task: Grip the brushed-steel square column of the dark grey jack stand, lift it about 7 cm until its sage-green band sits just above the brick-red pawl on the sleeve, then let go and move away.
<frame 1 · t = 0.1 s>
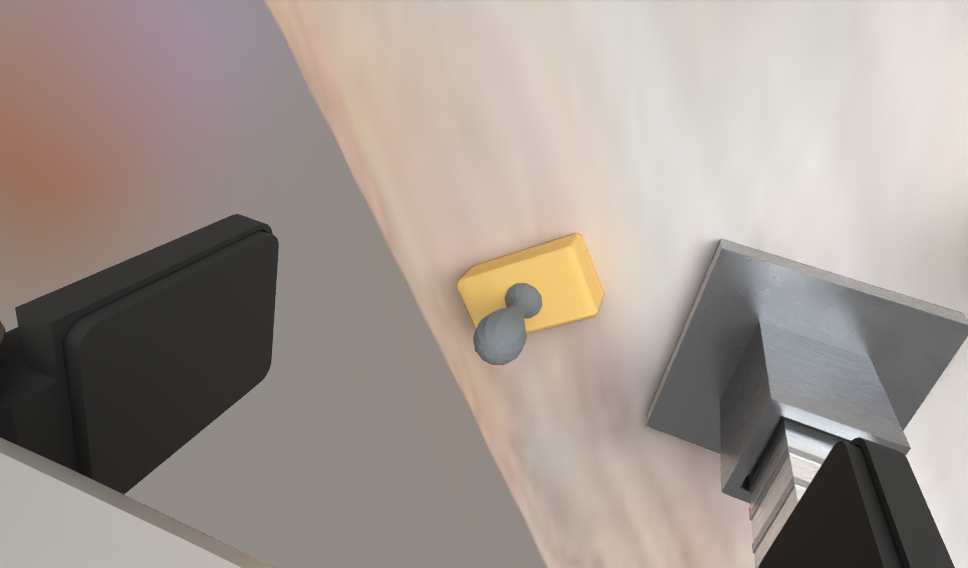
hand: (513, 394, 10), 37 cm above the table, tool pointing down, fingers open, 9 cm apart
rubber stamp: (536, 280, 51), on the table
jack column: (812, 486, 35), point 13 cm above the table, slide at 0.0 cm
jack stand base: (787, 367, 46), on the table
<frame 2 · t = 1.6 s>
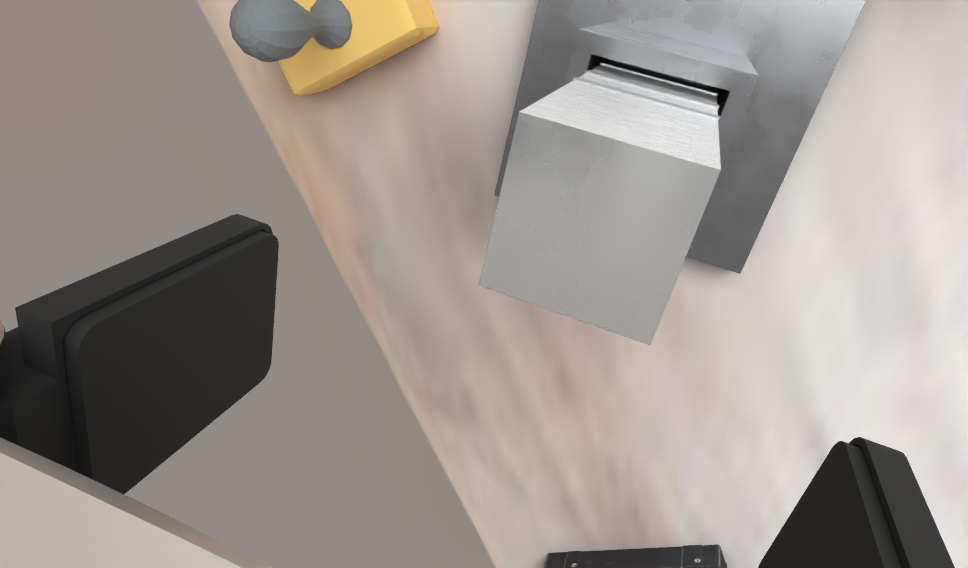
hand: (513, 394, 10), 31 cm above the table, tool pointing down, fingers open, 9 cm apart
rubber stamp: (362, 20, 41), on the table
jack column: (633, 147, 26), point 13 cm above the table, slide at 0.0 cm
jack stand base: (657, 101, 37), on the table
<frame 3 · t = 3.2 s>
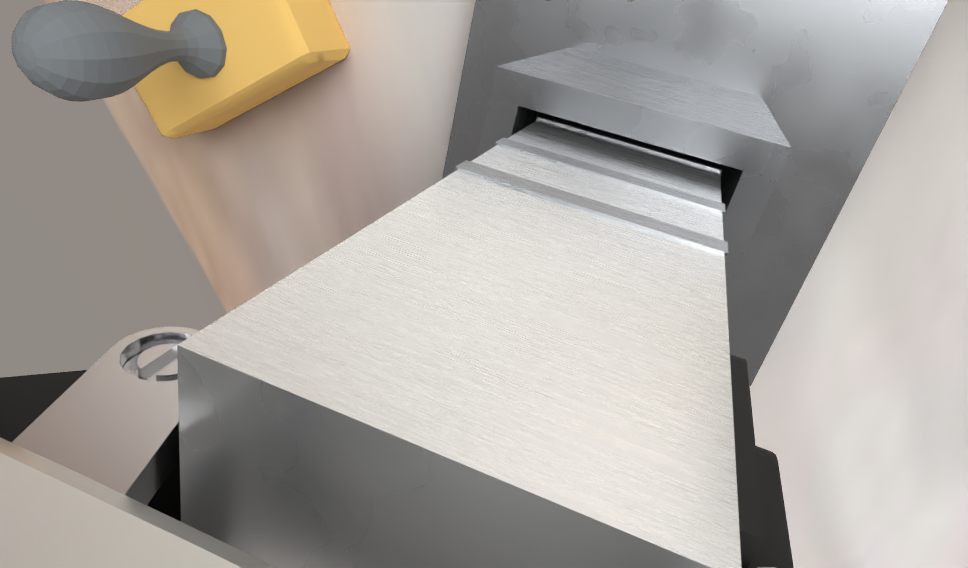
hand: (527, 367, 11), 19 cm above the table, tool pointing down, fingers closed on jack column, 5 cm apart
rubber stamp: (255, 39, 31), on the table
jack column: (584, 257, 16), point 13 cm above the table, slide at 0.0 cm, touching gripper
jack stand base: (638, 153, 27), on the table
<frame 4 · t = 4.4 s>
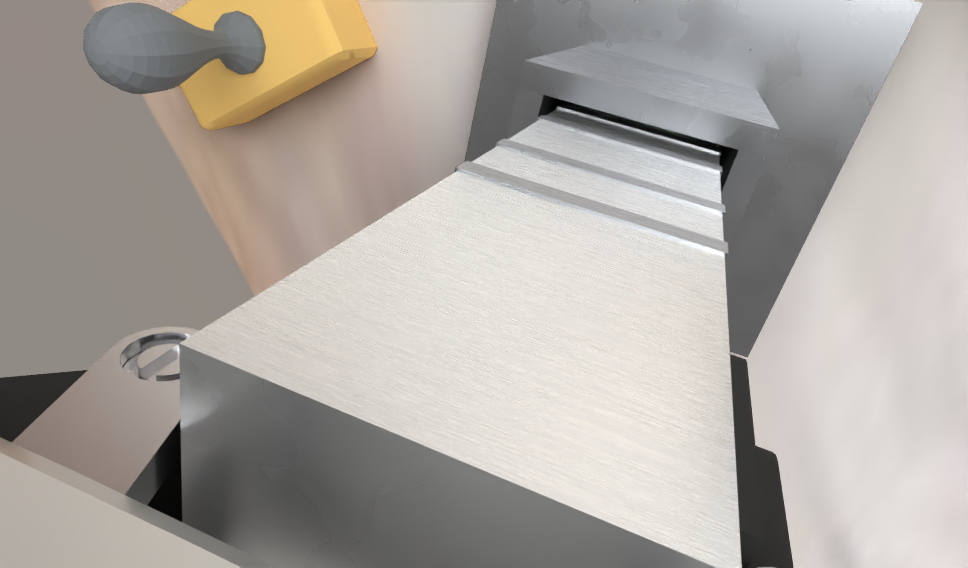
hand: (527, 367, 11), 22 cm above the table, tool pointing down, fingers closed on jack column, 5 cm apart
rubber stamp: (288, 38, 34), on the table
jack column: (585, 257, 16), point 16 cm above the table, slide at 2.7 cm, touching gripper
jack stand base: (644, 143, 30), on the table
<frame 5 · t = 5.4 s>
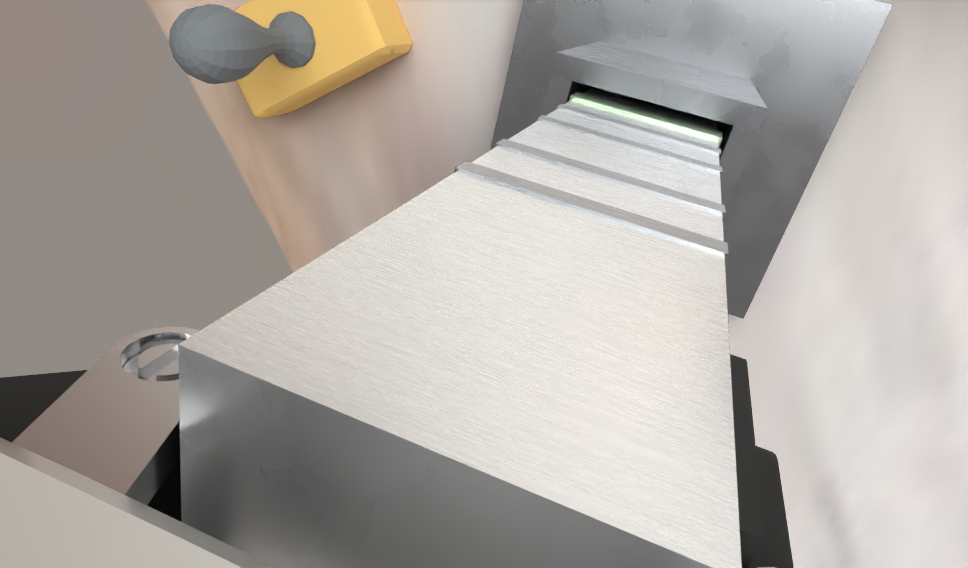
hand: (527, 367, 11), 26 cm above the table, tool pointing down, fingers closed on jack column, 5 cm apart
rubber stamp: (330, 36, 38), on the table
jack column: (584, 258, 16), point 20 cm above the table, slide at 7.1 cm, touching gripper
jack stand base: (651, 128, 33), on the table
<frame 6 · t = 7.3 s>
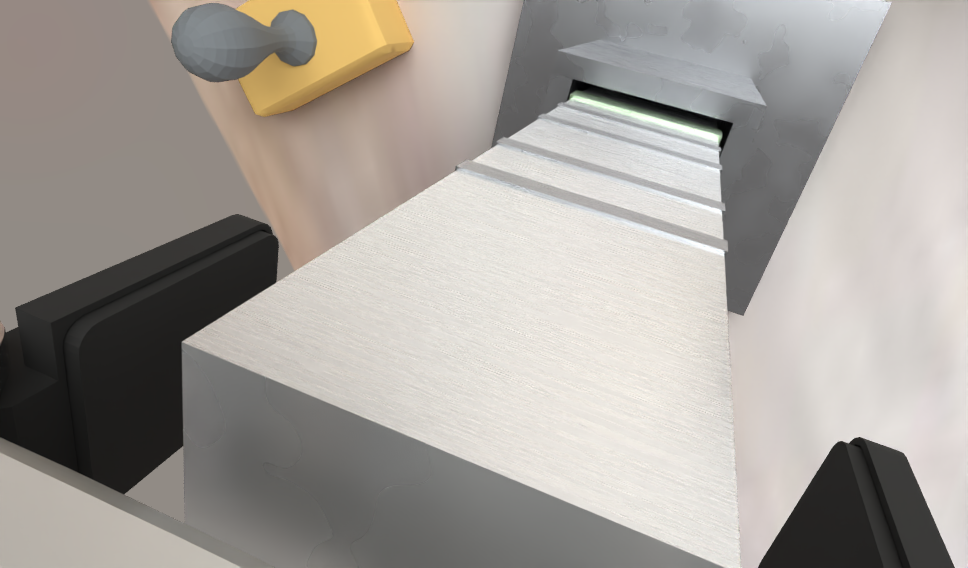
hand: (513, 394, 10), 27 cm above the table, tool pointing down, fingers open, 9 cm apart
rubber stamp: (331, 34, 38), on the table
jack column: (585, 256, 16), point 21 cm above the table, slide at 7.2 cm
jack stand base: (651, 126, 34), on the table
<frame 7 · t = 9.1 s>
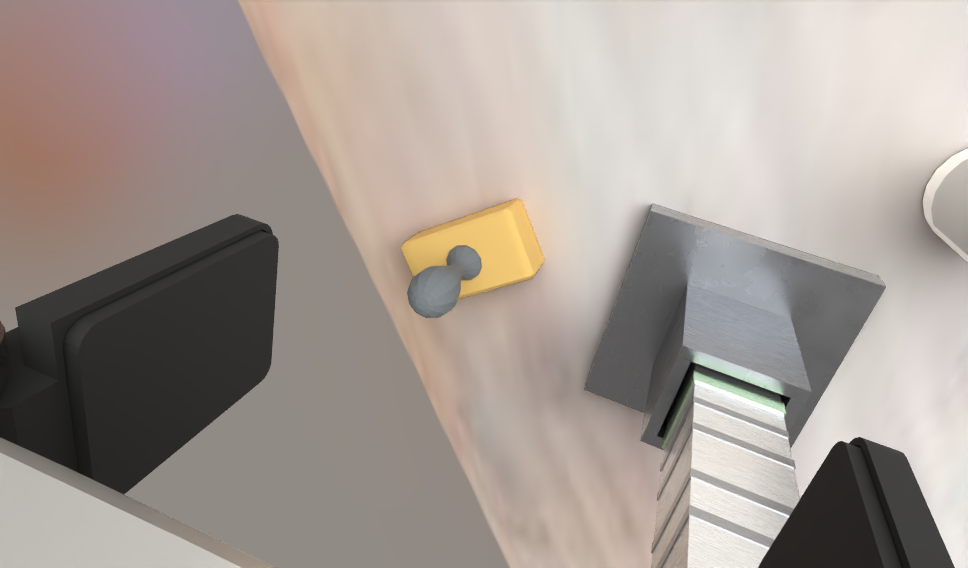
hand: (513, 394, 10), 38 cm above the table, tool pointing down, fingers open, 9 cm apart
rubber stamp: (480, 246, 52), on the table
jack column: (723, 516, 30), point 21 cm above the table, slide at 7.2 cm
jack stand base: (717, 332, 48), on the table
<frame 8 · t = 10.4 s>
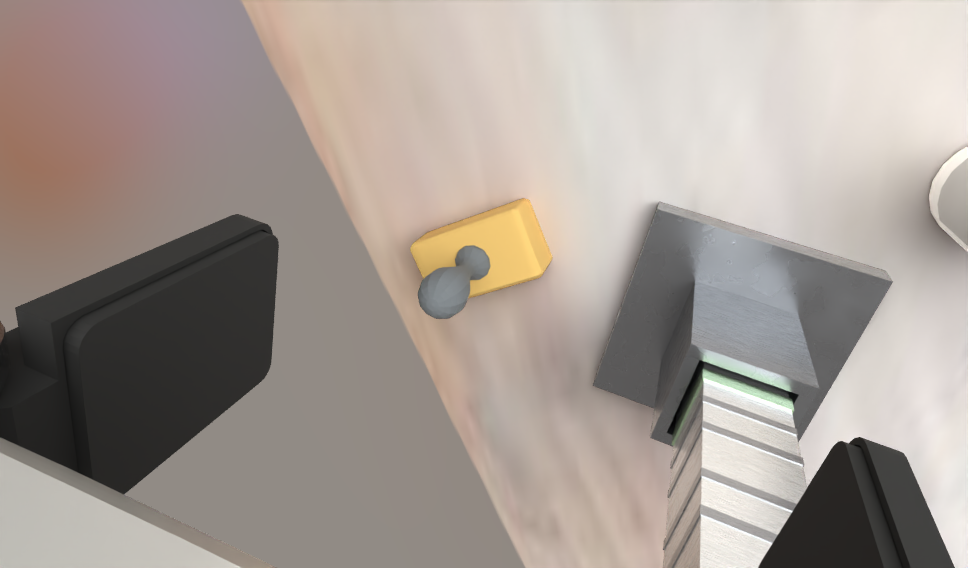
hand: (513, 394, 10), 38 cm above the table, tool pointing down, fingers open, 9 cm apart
rubber stamp: (488, 245, 52), on the table
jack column: (733, 513, 30), point 21 cm above the table, slide at 7.2 cm
jack stand base: (725, 327, 48), on the table
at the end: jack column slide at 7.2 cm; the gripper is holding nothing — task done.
